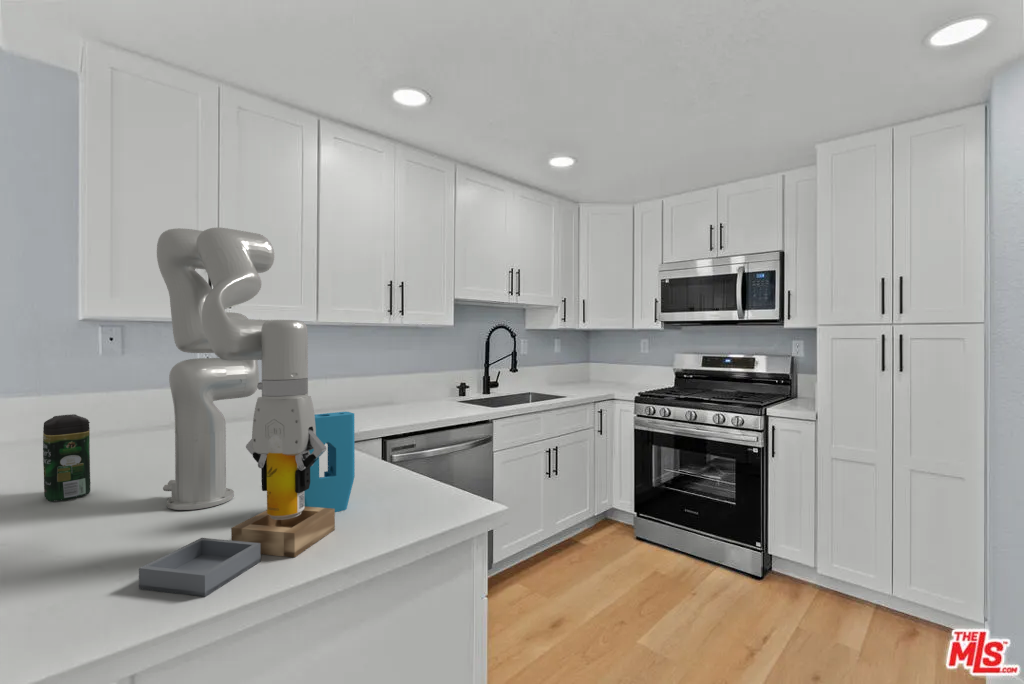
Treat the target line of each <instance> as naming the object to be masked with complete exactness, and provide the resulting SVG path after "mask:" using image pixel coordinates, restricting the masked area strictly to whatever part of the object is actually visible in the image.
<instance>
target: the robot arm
mask: <svg viewBox="0 0 1024 684" xmlns="http://www.w3.org/2000/svg"><path fill="white" fill-rule="evenodd" d="M273 247H274V246H273V245H272V243H271V241H270V240H269V239H268V238H267V237H266V236H265V235H263V234H260V233H257V232H251V231H244V230H237V229H232V228H228V227H211V228H207V229H204V230H201V229H200V230H198V229H192V228H170V229H167V230H165V231H163V232H162V233H161V234H160V235H159V237H158V240H157V244H156V260H157V266H158V269H159V271H160V274H161V276H162V279H163V281H164V283H165V285H166V289H167V291H168V296H169V304H170V306H169V307H170V316H171V325H172V334H173V339H174V340H173V341H174V343H175V346H176V347H177V349H178V350H180V351H181V352H183V353H188V354H215V355H216V356H217V357H206V358H203V357H201V358H190V359H189V358H188V359H185V360H182V361H180V362H177V363H175V364H174V365H173V366H172V367H171V370H170V372H169V377H168V378H169V379H168V380H169V381H168V382H169V388H170V393H171V397H172V403H173V411H174V413H173V415H174V443H175V444H174V447H175V449H174V451H175V452H174V453H175V454H174V458H175V459H174V462H175V463H174V465H175V466H174V468H175V469H174V470H175V474H174V477H175V478H174V479H171V480H169V481H168V482H167V484H164V486H163V487H162V490H163V491H164V492H171V497H169V498H168V499H167V500H166V507H167V508H168V509H170V510H175V511H193V510H201V509H207V508H211V507H215V506H218V505H221V504H224V503H227V502H229V501H230V500H232V499H233V498H234V496H235V492H234V490H233V488H232V489H231V488H227V466H226V465H227V438H226V437H227V430H226V429H227V428H226V427H227V426H226V424H227V423H226V418H225V416H224V415H223V413H222V411H220V409H219V408H218V407H217V405H215V404H214V402H215V401H221V400H231V399H243V398H248V397H251V396H252V395H254V394H255V393H256V391H258V390H261V396H258V397H257V398H256V399H257V400H256V404H255V407H254V411H253V412H254V413H253V420H252V431H251V433H252V435H251V439H250V440H249V441H248V442H247V443H246V445H245V449H246V450H247V451H248V452H249V453H250V455H252V458H253V459H254V460H255V461H256V463H257V467H258V468H259V469H261V470H260V471H261V474H260V475H261V478H260V479H261V490H262V492H267V454H268V453H269V439H270V438H271V437H272V436H274V435H277V436H279V437H280V439H282V453H283V454H285V455H295V460H296V463H297V466H298V468H299V470H296V472H295V492H296V493H301V492H303V491H305V490H307V489H309V486H310V467H312V466H313V464H314V463H315V462H316V460H317V459H318V458H319V459H320V457H321V456H322V455H323V454H324V453H325V452H327V447H326V444H325V445H324V444H323V443H322V442H321V440H320V439H319V438H318V437H317V436H316V425H315V415H314V414H315V410H314V404H313V400H312V396H311V395H309V379H308V378H309V366H308V363H309V359H308V358H309V357H308V355H309V353H308V350H309V349H308V348H309V346H308V344H309V343H308V342H309V341H308V338H309V337H308V335H309V334H308V326H307V324H306V323H305V322H304V321H302V320H299V319H270V320H269V319H267V320H266V319H254V318H253V319H251V318H248V317H247V316H246V315H244V314H242V313H239V312H231V311H230V312H229V311H226V309H230V308H233V307H235V306H238V305H241V304H244V303H246V302H248V301H250V300H252V299H254V297H256V296H257V295H258V294H259V293H260V291H261V288H262V280H261V277H260V275H259V274H261V273H262V274H263V273H266V272H268V271H269V270H270V269H271V268H272V266H273V265H274V261H275V250H274V248H273ZM198 269H199V270H205V271H206V273H207V276H208V278H209V281H210V283H211V285H212V287H211V285H210V284H209V283H208V282H207V281H206V279H205V278H204V277H203V276H202V275H201V274H200V273H199V272H197V271H196V270H198ZM258 361H261V382H260V373H259V372H260V371H259V363H258ZM312 449H314V451H313V452H312V453H311V454H310V452H309V450H312ZM302 454H303V456H302ZM303 458H304V459H303Z"/></svg>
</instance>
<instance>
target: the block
mask: <svg viewBox="0 0 1024 684" xmlns="http://www.w3.org/2000/svg"><path fill="white" fill-rule="evenodd" d="M314 415H315V425H316V436H317V437H318V438H319V439H320V440H321V442H322V443H323V444H324V445H325V446H326V444H327V470H326V471H325V470H324V472H323V476H320V457H319V458H318V459H317V460H316V462H315V463H314V464H313V466H312V467H310V486H309V489H307V490H305V491H304V506H306V507H319V508H332V509H335V513H339V512H342V511H343V512H344V511H346V510H347V509H348V505H349V500H350V497H351V494H352V488H353V484H354V481H355V469H356V468H355V465H356V464H355V462H356V461H355V457H356V456H355V455H356V454H355V447H356V446H355V443H356V442H355V413H354V412H350V411H336V412H327V413H326V412H325V413H317V414H316V413H314ZM313 451H314V449H312V450H309V452H310V454H311V453H312V452H313Z"/></svg>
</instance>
